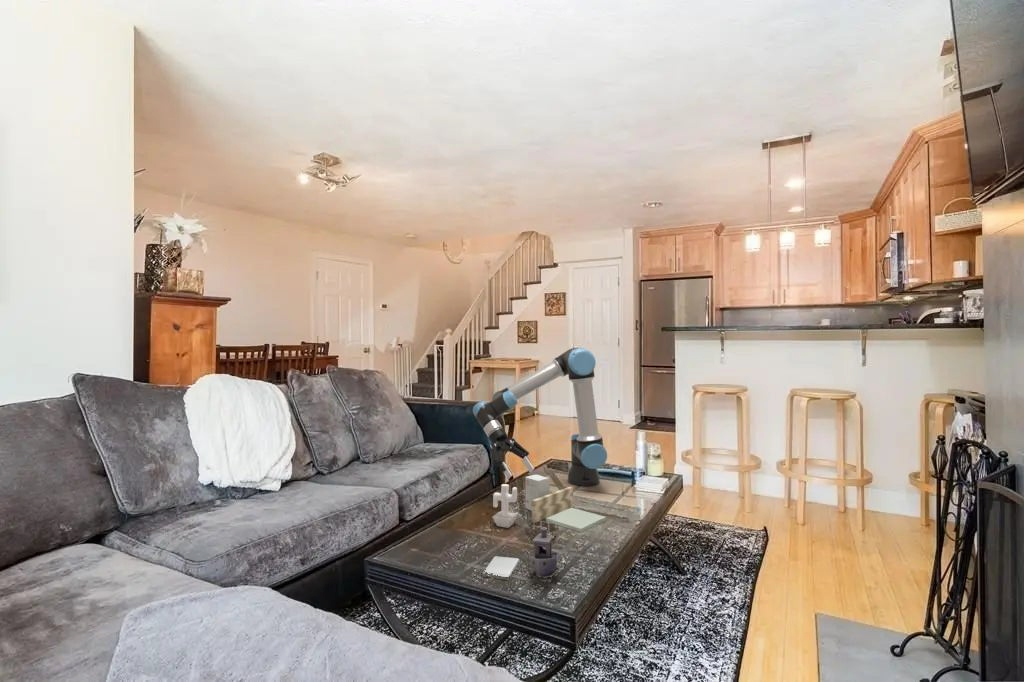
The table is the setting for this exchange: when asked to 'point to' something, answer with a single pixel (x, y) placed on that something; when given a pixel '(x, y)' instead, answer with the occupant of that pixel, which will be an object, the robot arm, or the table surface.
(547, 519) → the display plate
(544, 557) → the toy boat
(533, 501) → the wooden screen
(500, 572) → the hard drive
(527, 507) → the small box
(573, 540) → the table surface
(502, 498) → the figurine
